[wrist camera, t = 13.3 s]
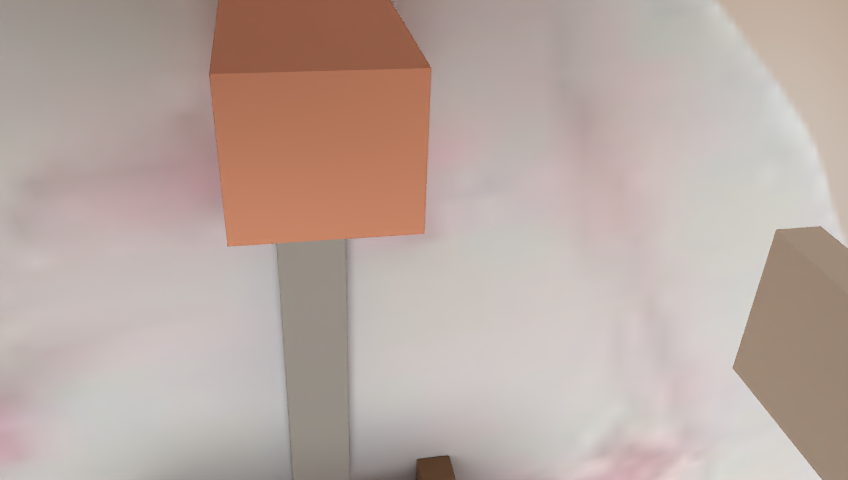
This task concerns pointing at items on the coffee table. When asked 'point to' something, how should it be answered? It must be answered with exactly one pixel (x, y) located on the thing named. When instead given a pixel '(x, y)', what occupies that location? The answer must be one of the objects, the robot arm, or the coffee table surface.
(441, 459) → the cabinet
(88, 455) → the coffee table surface
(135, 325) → the coffee table surface
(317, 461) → the orange-headed mallet
